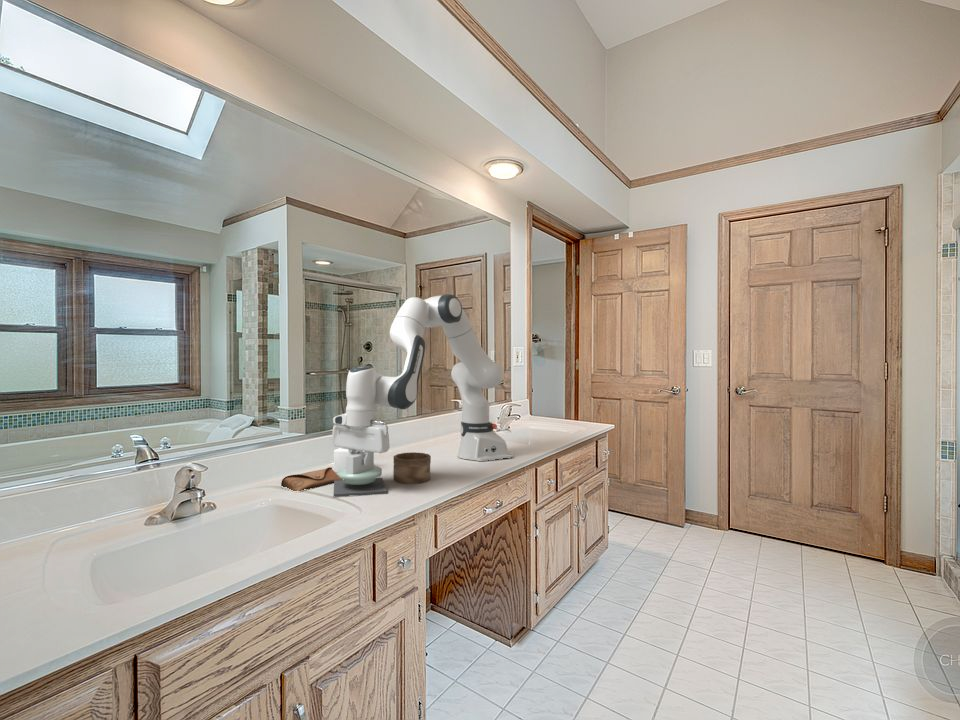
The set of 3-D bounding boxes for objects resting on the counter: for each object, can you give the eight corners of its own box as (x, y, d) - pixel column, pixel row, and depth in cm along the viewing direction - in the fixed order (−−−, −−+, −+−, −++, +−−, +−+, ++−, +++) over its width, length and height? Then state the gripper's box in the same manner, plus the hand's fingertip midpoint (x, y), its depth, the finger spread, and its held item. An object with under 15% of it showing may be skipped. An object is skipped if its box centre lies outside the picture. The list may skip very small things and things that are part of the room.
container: (362, 468, 165) (363, 432, 165) (354, 473, 157) (355, 435, 157) (341, 467, 165) (342, 431, 165) (333, 472, 158) (333, 435, 158)
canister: (426, 473, 159) (426, 451, 159) (433, 482, 148) (433, 459, 148) (391, 475, 156) (391, 453, 156) (395, 484, 144) (395, 461, 144)
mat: (382, 480, 149) (382, 477, 149) (386, 493, 135) (386, 490, 135) (334, 483, 145) (334, 480, 145) (333, 497, 131) (333, 494, 131)
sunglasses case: (296, 493, 134) (290, 471, 136) (284, 501, 137) (278, 480, 139) (347, 480, 148) (340, 461, 150) (335, 488, 152) (329, 469, 154)
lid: (358, 472, 149) (359, 448, 149) (390, 478, 143) (390, 452, 143) (328, 482, 137) (328, 455, 137) (361, 488, 131) (361, 461, 131)
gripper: (394, 420, 138) (393, 466, 138) (343, 415, 148) (343, 458, 148) (380, 423, 132) (379, 470, 132) (328, 417, 142) (328, 462, 142)
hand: (360, 464), depth 140 cm, fingers closed on lid, 3 cm apart
